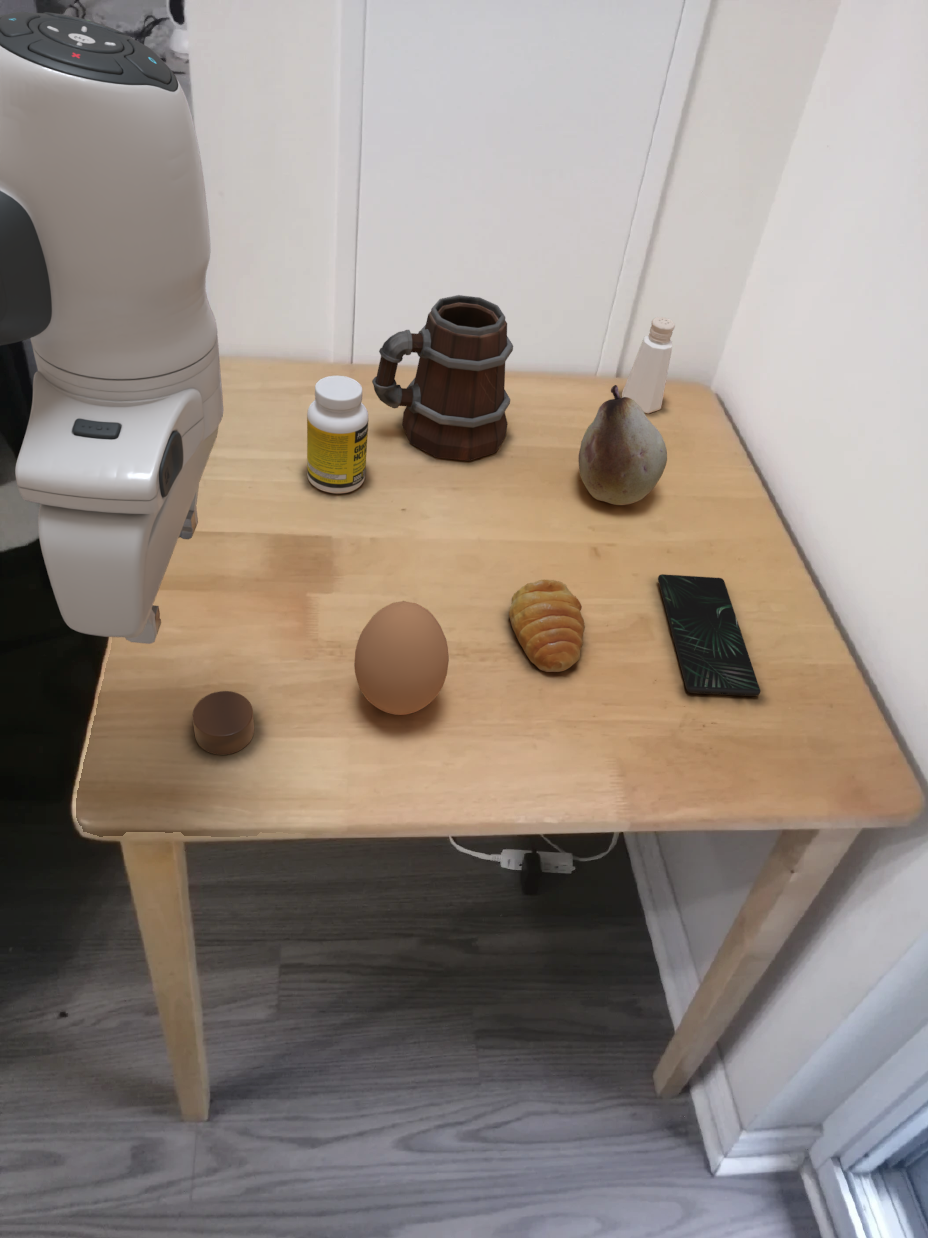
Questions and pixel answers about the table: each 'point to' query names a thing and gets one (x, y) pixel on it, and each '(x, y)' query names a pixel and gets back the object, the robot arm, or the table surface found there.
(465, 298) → the mug
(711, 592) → the smartphone
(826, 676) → the table surface
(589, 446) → the fruit
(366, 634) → the egg
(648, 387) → the pepper shaker
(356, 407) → the pill bottle
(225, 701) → the brown bottle cap
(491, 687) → the table surface
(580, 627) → the pastry
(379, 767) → the table surface
